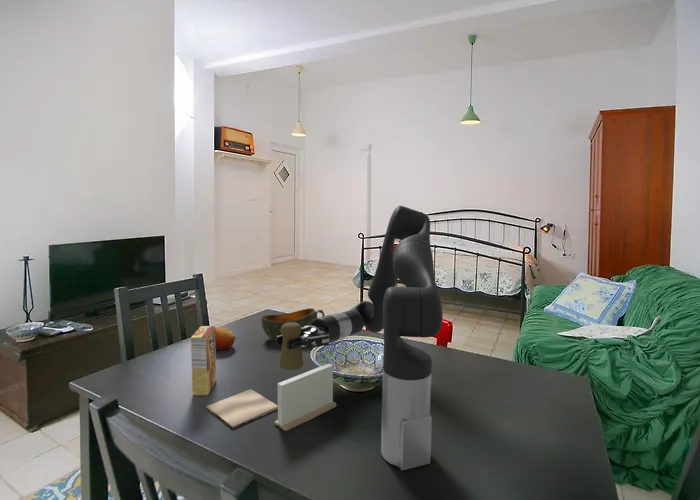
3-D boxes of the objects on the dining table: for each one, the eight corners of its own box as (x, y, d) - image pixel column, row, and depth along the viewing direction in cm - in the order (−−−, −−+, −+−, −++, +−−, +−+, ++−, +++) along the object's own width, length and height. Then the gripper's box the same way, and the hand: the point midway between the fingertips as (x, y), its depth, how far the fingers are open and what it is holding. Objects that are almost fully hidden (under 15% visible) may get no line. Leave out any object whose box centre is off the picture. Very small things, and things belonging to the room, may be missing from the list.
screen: (324, 400, 99) (325, 361, 98) (336, 406, 96) (336, 366, 95) (274, 424, 88) (273, 381, 87) (285, 432, 85) (285, 387, 84)
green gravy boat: (312, 347, 133) (312, 318, 132) (259, 341, 139) (258, 313, 138) (325, 335, 146) (325, 308, 145) (276, 330, 151) (275, 304, 150)
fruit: (202, 342, 133) (215, 321, 134) (224, 351, 136) (236, 330, 137) (204, 351, 126) (217, 328, 127) (227, 360, 129) (240, 338, 130)
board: (278, 408, 95) (278, 406, 95) (232, 429, 86) (232, 426, 86) (250, 391, 103) (250, 389, 103) (206, 408, 95) (206, 405, 95)
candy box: (201, 380, 109) (199, 325, 107) (217, 379, 110) (215, 325, 108) (192, 396, 100) (189, 337, 98) (209, 395, 101) (207, 336, 99)
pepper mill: (305, 361, 105) (305, 320, 104) (300, 370, 99) (300, 327, 98) (283, 360, 106) (282, 319, 105) (276, 369, 100) (275, 326, 99)
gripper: (315, 310, 117) (265, 322, 104) (350, 320, 107) (299, 335, 95) (315, 335, 118) (265, 350, 105) (350, 347, 108) (300, 365, 95)
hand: (282, 343), depth 100 cm, fingers closed on pepper mill, 4 cm apart
